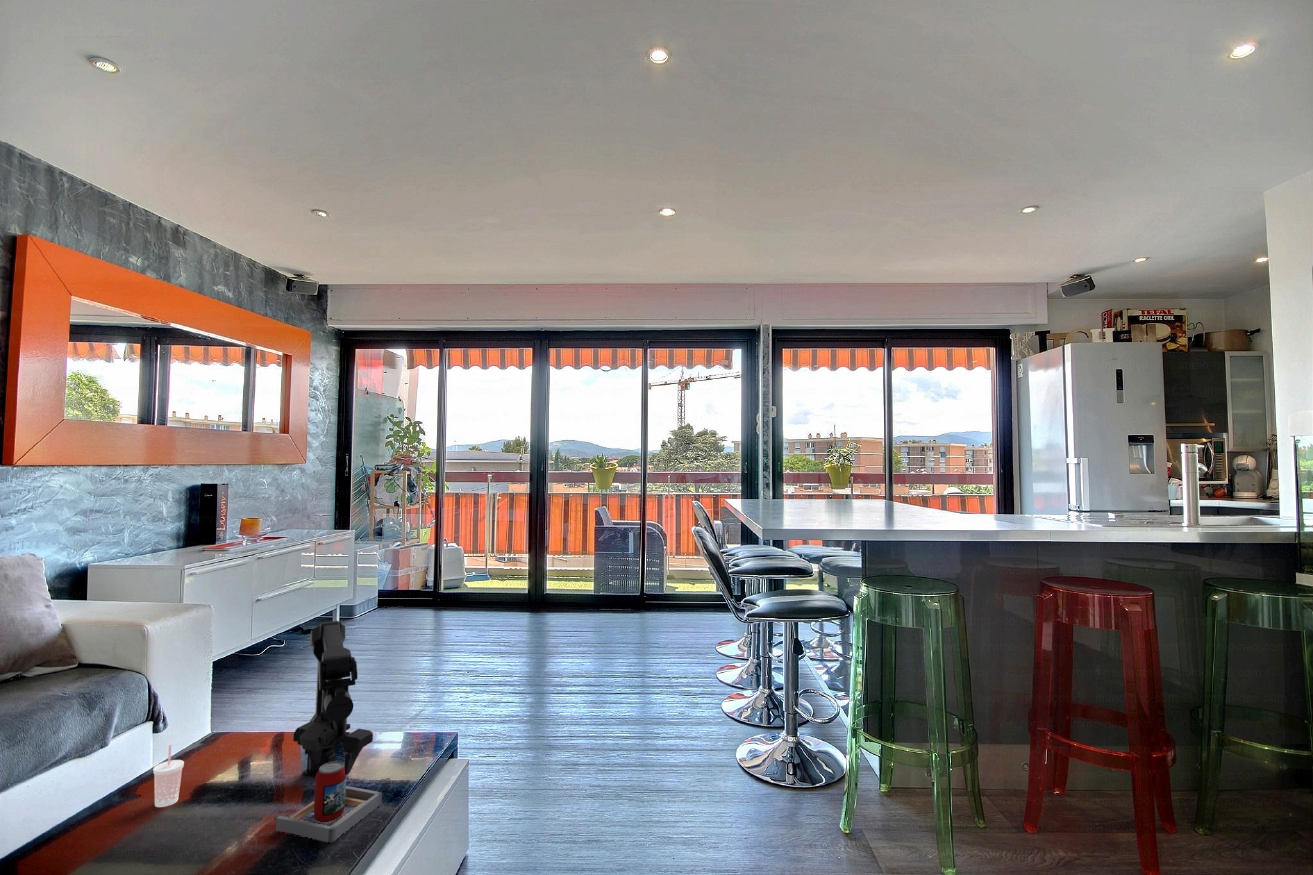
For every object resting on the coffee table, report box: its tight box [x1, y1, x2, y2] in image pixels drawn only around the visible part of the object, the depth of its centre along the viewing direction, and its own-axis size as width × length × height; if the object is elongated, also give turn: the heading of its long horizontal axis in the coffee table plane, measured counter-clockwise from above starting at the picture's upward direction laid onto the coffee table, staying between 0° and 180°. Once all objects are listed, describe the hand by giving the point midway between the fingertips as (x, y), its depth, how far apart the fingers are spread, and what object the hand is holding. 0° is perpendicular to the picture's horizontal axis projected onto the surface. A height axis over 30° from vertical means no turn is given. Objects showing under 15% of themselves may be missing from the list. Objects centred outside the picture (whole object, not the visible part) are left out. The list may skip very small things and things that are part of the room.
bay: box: [275, 785, 383, 844], centre depth 150 cm, size 16×17×3 cm
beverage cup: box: [152, 744, 185, 808], centre depth 154 cm, size 6×6×14 cm
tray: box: [289, 797, 366, 826], centre depth 150 cm, size 13×13×2 cm
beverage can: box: [313, 760, 347, 822], centre depth 150 cm, size 7×7×12 cm
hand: (331, 771), depth 150 cm, fingers open, 9 cm apart
